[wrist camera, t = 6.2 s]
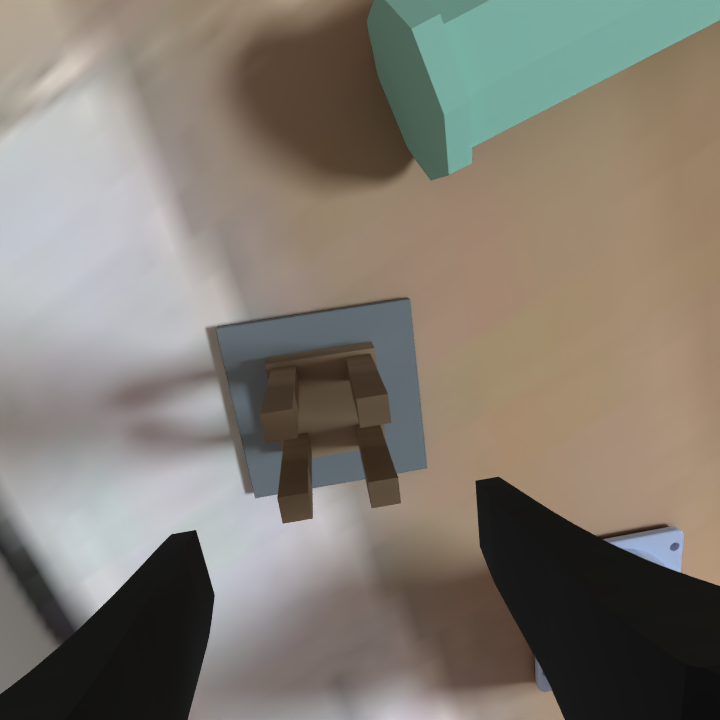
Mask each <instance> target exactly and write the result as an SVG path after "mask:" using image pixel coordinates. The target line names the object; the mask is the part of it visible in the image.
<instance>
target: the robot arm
mask: <svg viewBox="0 0 720 720" xmlns="http://www.w3.org/2000/svg"><path fill="white" fill-rule="evenodd" d="M476 495H477V510H478V524H479V539H480V548H481V550H482V553H483V555H484V558H485V560H486V563H487V566H488V568H489V570H490V573H491V575H492V578H493V580H494V583H495V584H496V586H497V588H498V590H499V592H500V594H501V596H502V597H503V599H504V601H505V603H506V605H507V607H508V608H509V610H510V612H511V614H512V616H513V618H514V619H515V621H516V623H517V625H518V627H519V628H520V630H521V632H522V634H523V636H524V637H525V639H526V641H527V643H528V645H529V647H530V648H531V650H532V652H533V654H534V656H535V678H536V684H537V686H538V688H539V690H541V691H544V692H545V691H553V693H554V696H555V698H556V700H557V703H558V705H559V707H560V709H561V712H562V714H563V716H564V719H565V720H720V586H718V585H715V584H712V583H709V582H706V581H703V580H700V579H697V578H694V577H691V576H688V575H686V574H683V573H680V572H681V561H682V550H683V539H684V535H683V532H682V531H681V530H679V529H678V528H677V527H675V526H674V527H666V528H661V529H655V530H650V531H644V532H639V533H634V534H628V535H623V536H618V537H612V538H607V539H601V538H599V537H597V536H595V535H593V534H591V533H590V532H588V531H586V530H584V529H582V528H580V527H578V526H577V525H575V524H573V523H571V522H570V521H568V520H566V519H564V518H563V517H561V516H559V515H558V514H556V513H554V512H553V511H551V510H550V509H548V508H546V507H545V506H543V505H541V504H540V503H538V502H537V501H535V500H534V499H532V498H531V497H529V496H528V495H526V494H524V493H523V492H521V491H520V490H518V489H517V488H515V487H514V486H512V485H511V484H509V483H508V482H506V481H504V480H503V479H501V478H500V477H495V478H489V479H483V480H478V481H476ZM214 596H215V595H214V591H213V588H212V584H211V581H210V577H209V574H208V570H207V567H206V563H205V560H204V556H203V553H202V549H201V546H200V542H199V539H198V535H197V532H196V530H194V531H188V532H182V533H177V534H171V535H170V536H169V537H168V538H167V539H166V540H165V541H164V542H163V543H162V544H161V545H160V546H159V548H158V549H157V550H156V551H155V552H154V553H153V554H152V555H151V556H150V557H149V558H148V559H147V560H146V561H145V563H144V564H143V565H142V566H141V567H140V568H139V569H138V570H137V571H136V572H135V573H134V574H133V575H132V576H131V577H130V578H129V580H128V581H127V582H126V583H125V584H124V585H123V586H122V587H121V588H120V589H119V590H118V591H117V592H116V593H115V594H114V595H113V596H112V597H111V598H110V599H109V600H108V601H107V602H106V603H105V604H104V605H103V606H102V607H101V608H100V609H99V610H98V611H97V612H96V613H95V614H94V615H93V616H92V617H91V618H90V619H89V620H88V621H87V622H86V623H85V624H84V625H83V626H81V627H80V628H79V629H78V630H77V631H76V632H75V633H74V634H73V635H72V636H71V637H70V638H69V639H67V640H66V641H65V642H64V643H63V644H62V645H61V646H60V647H58V648H57V649H56V650H55V651H54V652H53V653H51V654H50V655H49V656H48V657H47V658H46V659H44V660H43V661H42V662H41V663H40V664H39V665H37V666H36V667H35V668H34V669H32V670H31V671H30V672H29V673H27V674H26V675H25V676H24V677H22V678H21V679H20V680H18V681H17V682H16V683H15V684H14V685H12V686H11V687H9V688H8V689H7V690H5V691H4V692H3V693H1V694H0V720H188V716H189V712H190V708H191V704H192V701H193V697H194V693H195V689H196V686H197V682H198V678H199V674H200V670H201V667H202V663H203V659H204V655H205V651H206V647H207V643H208V639H209V634H210V627H211V620H212V612H213V604H214Z"/></svg>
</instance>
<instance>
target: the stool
mask: <svg viewBox="0 0 720 720" xmlns="http://www.w3.org/2000/svg"><path fill="white" fill-rule="evenodd" d="M265 367H266V372H267V377H268V383H267V387H266V391H265V395H264V399H263V403H262V407H261V411H260V418H261V422H262V427H263V432H264V437H265V441H266V443H271V442H277V441H280V442H281V447H282V452H283V453H282V462H281V470H280V479H279V488H278V497H277V498H278V503H279V508H280V512H281V517H282V522H283V523H289V522H295V521H301V520H306V519H312V518H313V502H312V458H314V457H320V456H326V455H332V454H338V453H344V452H350V451H356V450H360V455H361V460H362V465H363V469H364V474H365V479H366V484H367V488H368V493H369V498H370V503H371V507H372V508H376V507H382V506H387V505H393V504H399V503H401V500H400V491H399V483H398V476H397V473H396V470H395V467H394V464H393V461H392V459H391V456H390V453H389V450H388V447H387V444H386V436H385V428H384V424H388V423H391V415H390V407H389V398H388V393H387V391H386V388H385V386H384V384H383V381H382V379H381V377H380V374H379V372H378V370H377V363H376V355H375V348H374V346H373V344H372V342H365V343H358V344H352V345H345V346H339V347H332V348H325V349H319V350H312V351H306V352H299V353H293V354H286V355H279V356H273V357H267V360H266V363H265Z"/></svg>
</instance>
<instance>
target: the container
mask: <svg viewBox="0 0 720 720" xmlns="http://www.w3.org/2000/svg"><path fill="white" fill-rule="evenodd" d="M719 20H720V0H374V1H373V4H372V7H371V10H370V13H369V16H368V19H367V27H368V32H369V37H370V41H371V46H372V51H373V56H374V61H375V65H376V70H377V75H378V78H379V80H380V83H381V85H382V88H383V90H384V93H385V95H386V97H387V100H388V102H389V105H390V107H391V110H392V112H393V115H394V117H395V119H396V122H397V124H398V127H399V129H400V132H401V134H402V136H403V139H404V141H405V144H406V146H407V149H408V150H409V151H410V153H411V154H412V155H413V157H414V158H415V160H416V161H417V162H418V164H419V165H420V166H421V168H422V169H423V170H424V172H425V173H426V175H427V176H428V177H429V179H430V180H434V179H437V178H440V177H444V176H447V175H450V174H452V173H454V172H456V171H458V170H460V169H462V168H464V167H466V166H467V165H469V164H471V163H472V147H474V146H476V145H478V144H480V143H482V142H484V141H486V140H488V139H490V138H492V137H494V136H495V135H497V134H499V133H501V132H503V131H505V130H507V129H509V128H511V127H513V126H515V125H517V124H519V123H521V122H523V121H525V120H527V119H529V118H530V117H532V116H534V115H536V114H538V113H540V112H542V111H544V110H546V109H548V108H550V107H552V106H554V105H556V104H558V103H560V102H562V101H564V100H565V99H567V98H569V97H571V96H573V95H575V94H577V93H579V92H581V91H583V90H585V89H587V88H589V87H591V86H593V85H595V84H597V83H599V82H600V81H602V80H604V79H606V78H608V77H610V76H612V75H614V74H616V73H618V72H620V71H622V70H624V69H626V68H628V67H630V66H632V65H634V64H635V63H637V62H639V61H641V60H643V59H645V58H647V57H649V56H651V55H653V54H655V53H657V52H659V51H661V50H663V49H665V48H667V47H669V46H671V45H672V44H674V43H676V42H678V41H680V40H682V39H684V38H686V37H688V36H690V35H692V34H694V33H696V32H698V31H700V30H702V29H704V28H706V27H707V26H709V25H711V24H713V23H715V22H717V21H719Z"/></svg>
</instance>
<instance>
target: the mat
mask: <svg viewBox="0 0 720 720" xmlns="http://www.w3.org/2000/svg"><path fill="white" fill-rule="evenodd" d="M216 332H217V337H218V341H219V345H220V349H221V354H222V358H223V362H224V367H225V371H226V375H227V379H228V384H229V388H230V392H231V396H232V401H233V405H234V409H235V414H236V418H237V422H238V426H239V431H240V435H241V439H242V443H243V448H244V452H245V456H246V461H247V465H248V469H249V473H250V478H251V482H252V486H253V490H254V495H255V498H259V497H264V496H270V495H276V494H278V488H279V479H280V470H281V462H282V453H283V452H282V447H281V442H280V441H277V442H271V443H266V441H265V437H264V432H263V427H262V422H261V418H260V411H261V407H262V403H263V399H264V395H265V391H266V387H267V383H268V377H267V372H266V367H265V363H266V360H267V357H273V356H279V355H286V354H293V353H299V352H306V351H312V350H319V349H325V348H332V347H339V346H345V345H352V344H358V343H365V342H372V344H373V346H374V348H375V355H376V363H377V370H378V372H379V374H380V377H381V379H382V381H383V384H384V386H385V388H386V391H387V393H388V398H389V407H390V415H391V423H388V424H384V428H385V436H386V444H387V447H388V450H389V453H390V456H391V459H392V461H393V464H394V467H395V470H396V473H403V472H408V471H414V470H420V469H426V468H427V462H426V452H425V442H424V432H423V423H422V413H421V403H420V393H419V383H418V374H417V364H416V354H415V344H414V334H413V324H412V315H411V305H410V299H409V298H402V299H396V300H389V301H382V302H376V303H369V304H363V305H356V306H350V307H343V308H336V309H330V310H323V311H317V312H310V313H304V314H297V315H290V316H284V317H277V318H271V319H264V320H258V321H251V322H244V323H238V324H231V325H225V326H218V327H217V328H216ZM362 479H365V474H364V469H363V465H362V460H361V455H360V450H356V451H350V452H344V453H338V454H332V455H326V456H320V457H314V458H312V488H316V487H322V486H328V485H334V484H339V483H345V482H351V481H357V480H362Z"/></svg>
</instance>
